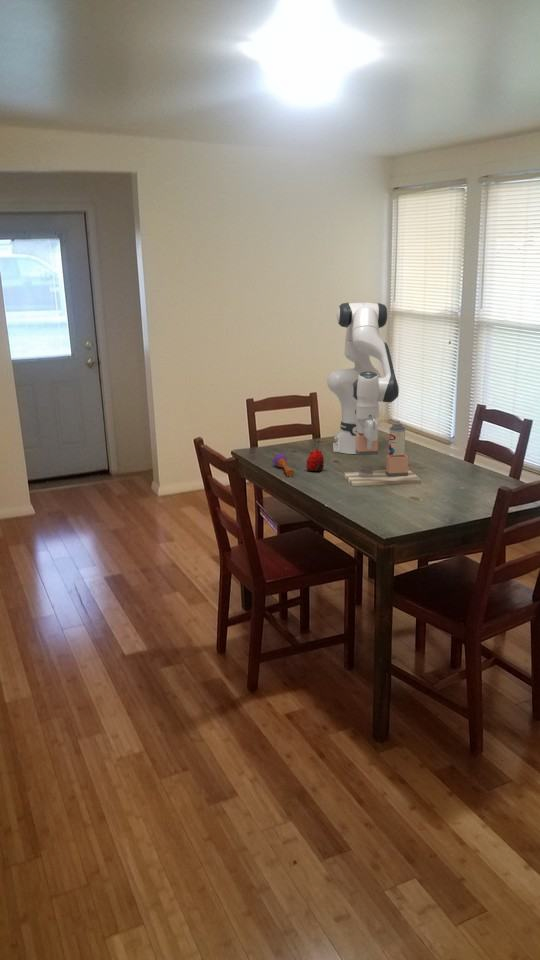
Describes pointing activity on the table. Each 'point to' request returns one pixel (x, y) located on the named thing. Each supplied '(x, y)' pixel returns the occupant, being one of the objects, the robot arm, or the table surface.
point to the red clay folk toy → (315, 460)
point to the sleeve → (361, 446)
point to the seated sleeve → (397, 465)
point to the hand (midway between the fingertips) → (366, 447)
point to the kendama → (283, 463)
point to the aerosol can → (396, 439)
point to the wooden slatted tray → (378, 477)
